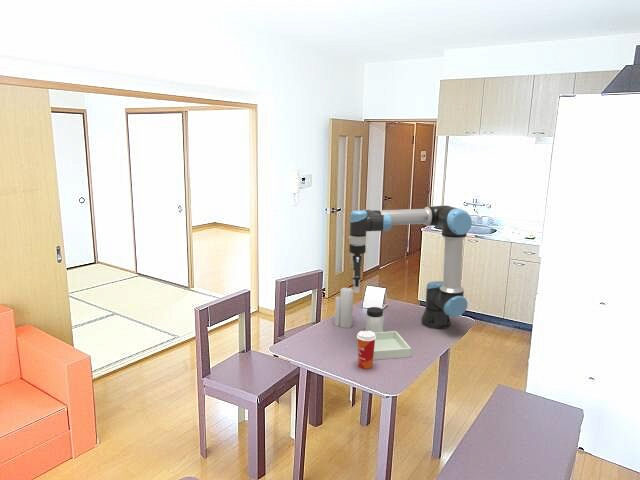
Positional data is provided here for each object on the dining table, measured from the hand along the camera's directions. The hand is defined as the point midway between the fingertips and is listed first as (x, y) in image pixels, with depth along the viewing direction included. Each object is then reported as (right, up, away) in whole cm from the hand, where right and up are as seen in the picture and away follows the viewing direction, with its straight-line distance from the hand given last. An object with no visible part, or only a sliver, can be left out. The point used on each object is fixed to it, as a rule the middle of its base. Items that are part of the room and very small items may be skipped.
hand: (356, 288), depth 223 cm
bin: (+13, -29, +1) cm, 31 cm away
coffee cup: (+3, -33, -16) cm, 36 cm away
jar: (+11, -25, +20) cm, 34 cm away
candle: (-5, -22, +29) cm, 37 cm away
